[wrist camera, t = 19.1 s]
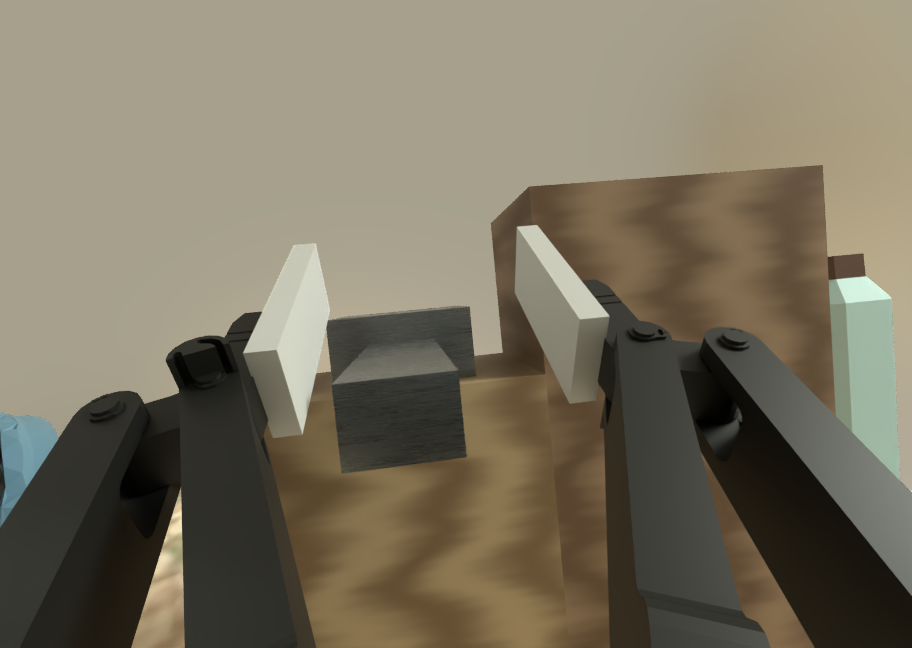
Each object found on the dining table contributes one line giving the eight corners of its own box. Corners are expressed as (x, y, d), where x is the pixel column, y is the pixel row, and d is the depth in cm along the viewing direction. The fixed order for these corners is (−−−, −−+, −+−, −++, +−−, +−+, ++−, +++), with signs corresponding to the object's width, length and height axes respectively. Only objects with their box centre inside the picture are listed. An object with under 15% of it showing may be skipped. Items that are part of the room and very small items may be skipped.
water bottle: (741, 528, 44) (724, 267, 42) (800, 499, 48) (787, 262, 47) (873, 582, 35) (856, 253, 34) (930, 540, 39) (918, 248, 38)
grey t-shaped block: (257, 485, 12) (239, 338, 12) (351, 371, 33) (345, 316, 33) (543, 447, 13) (531, 309, 13) (460, 359, 34) (454, 306, 34)
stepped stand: (302, 780, 24) (232, 208, 23) (334, 632, 35) (289, 239, 33) (849, 672, 27) (822, 165, 26) (723, 567, 38) (698, 206, 37)
